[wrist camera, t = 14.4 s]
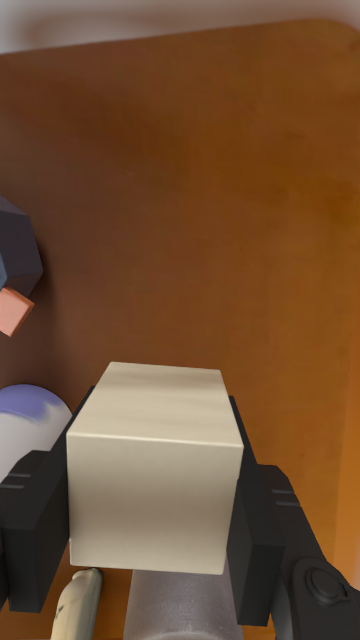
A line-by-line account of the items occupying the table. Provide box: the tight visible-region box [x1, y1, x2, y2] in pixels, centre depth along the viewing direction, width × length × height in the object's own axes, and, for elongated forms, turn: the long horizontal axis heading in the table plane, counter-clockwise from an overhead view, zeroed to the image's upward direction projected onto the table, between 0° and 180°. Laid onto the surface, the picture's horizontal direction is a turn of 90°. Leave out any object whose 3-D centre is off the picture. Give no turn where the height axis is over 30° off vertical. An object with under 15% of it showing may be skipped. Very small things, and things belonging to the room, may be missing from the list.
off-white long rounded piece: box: [51, 568, 103, 640], centre depth 33 cm, size 6×5×8 cm
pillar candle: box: [123, 553, 244, 640], centre depth 26 cm, size 10×10×15 cm
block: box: [66, 362, 244, 575], centre depth 11 cm, size 5×5×5 cm
